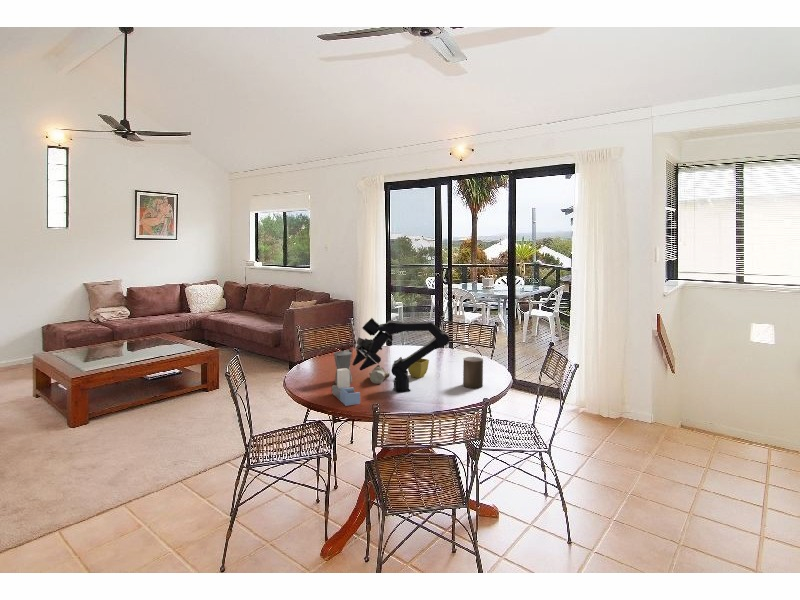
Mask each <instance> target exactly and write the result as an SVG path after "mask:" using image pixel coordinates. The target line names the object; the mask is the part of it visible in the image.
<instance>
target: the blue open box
mask: <svg viewBox="0 0 800 600" xmlns="http://www.w3.org/2000/svg"><path fill="white" fill-rule="evenodd" d="M331 389H332V390H331V391H332V395H333V396H335V397H336V398H337V399H338V400H339V401H340V390H339V389H338V388H337V384H333V385H332V388H331ZM347 392H348V394H349V393H355V389H354V390H351V391H347Z"/></svg>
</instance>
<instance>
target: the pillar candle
mask: <svg viewBox="0 0 800 600" xmlns="http://www.w3.org/2000/svg"><path fill="white" fill-rule="evenodd" d="M462 365H463V366H462V367H463V370H462V371H463V374H462V375H463V378H462V379H463V380H462V384H463V387H464V388H467V389H481V388H483V386H484V382H483V381H484V359H483V358H482V357H479V356H467V357H464V358H463V364H462Z"/></svg>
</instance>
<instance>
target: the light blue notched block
mask: <svg viewBox="0 0 800 600" xmlns="http://www.w3.org/2000/svg"><path fill="white" fill-rule="evenodd" d="M351 390H354V391H355V388H354V386H352V387H351V386H350V388H344V389H343V388H340V400H339V401H340V403H342V404H343V405H345V406H346V407H348V406H354V405H360V404H361V392H360V391H356V392H354V393H349V394H348V392H347V391H351Z"/></svg>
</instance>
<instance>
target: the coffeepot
mask: <svg viewBox="0 0 800 600" xmlns="http://www.w3.org/2000/svg"><path fill="white" fill-rule="evenodd" d="M352 354H353V352H352V349H350V348H348V349H345V347H341V350H340V351H335V352H333V356H334V363H335V367H336V371H335V377H334V378H335V379H334V384H335V385H337V369H342V368H347V369H348V370H350V384H352V383H353V378H352V372H351V369H350V367H351V362H352V361H351V360H352V356H353V355H352Z"/></svg>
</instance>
